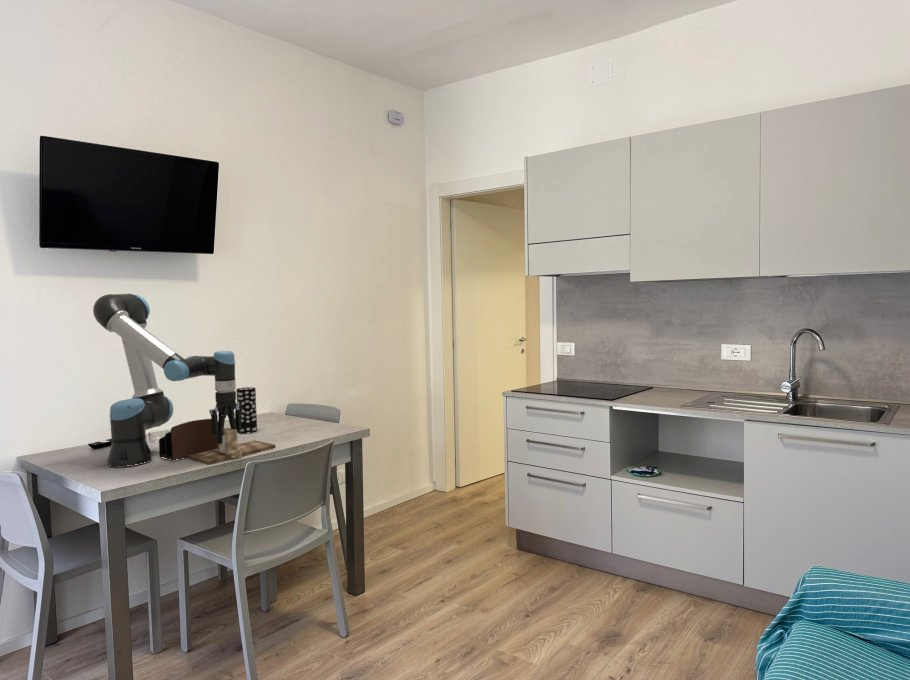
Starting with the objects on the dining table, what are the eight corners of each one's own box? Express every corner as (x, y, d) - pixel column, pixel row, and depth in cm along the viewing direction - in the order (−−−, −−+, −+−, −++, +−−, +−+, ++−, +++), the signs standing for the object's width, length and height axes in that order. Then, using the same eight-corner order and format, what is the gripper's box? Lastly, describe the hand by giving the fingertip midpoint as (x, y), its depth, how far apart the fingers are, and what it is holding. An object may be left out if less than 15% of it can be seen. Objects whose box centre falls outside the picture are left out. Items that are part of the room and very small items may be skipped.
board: (209, 464, 240) (209, 460, 240) (188, 459, 249) (188, 455, 249) (275, 448, 264) (275, 444, 264) (254, 443, 273) (254, 440, 273)
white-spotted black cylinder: (238, 434, 291) (237, 390, 290) (237, 430, 299) (235, 388, 298) (258, 432, 295) (256, 389, 293) (256, 429, 302) (254, 386, 301)
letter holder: (219, 451, 262) (217, 416, 261) (173, 461, 246) (171, 425, 245) (204, 447, 268) (203, 414, 267) (159, 458, 252) (157, 422, 251)
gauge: (233, 459, 247) (232, 432, 246) (210, 453, 256) (209, 427, 255) (242, 456, 250) (241, 430, 249) (219, 451, 259) (218, 426, 258)
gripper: (211, 394, 241) (213, 456, 243) (250, 389, 255) (252, 447, 257) (200, 393, 245) (202, 453, 247) (238, 387, 259) (240, 444, 261)
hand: (227, 450), depth 252 cm, fingers closed on gauge, 4 cm apart
